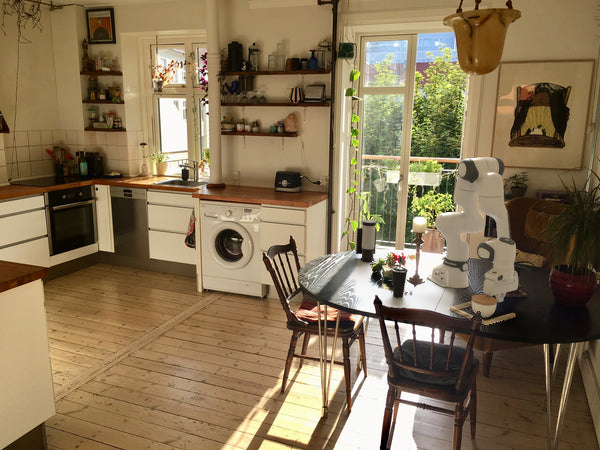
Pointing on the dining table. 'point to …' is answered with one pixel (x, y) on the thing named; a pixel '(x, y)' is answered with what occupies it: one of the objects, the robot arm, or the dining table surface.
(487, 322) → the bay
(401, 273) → the drinking cup
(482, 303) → the lidded jar
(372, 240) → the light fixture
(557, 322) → the dining table surface
